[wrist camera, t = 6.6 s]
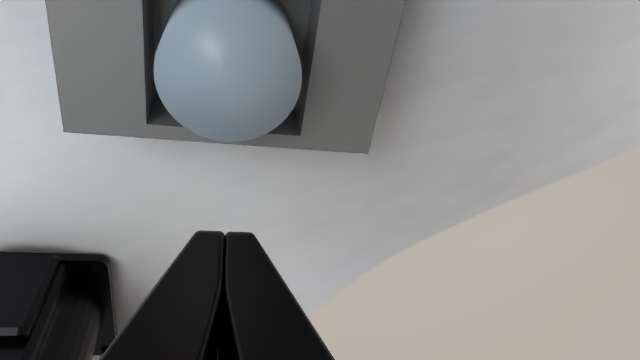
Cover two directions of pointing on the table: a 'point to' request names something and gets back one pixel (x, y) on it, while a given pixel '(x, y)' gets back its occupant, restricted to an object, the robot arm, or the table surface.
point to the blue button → (228, 67)
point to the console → (156, 122)
